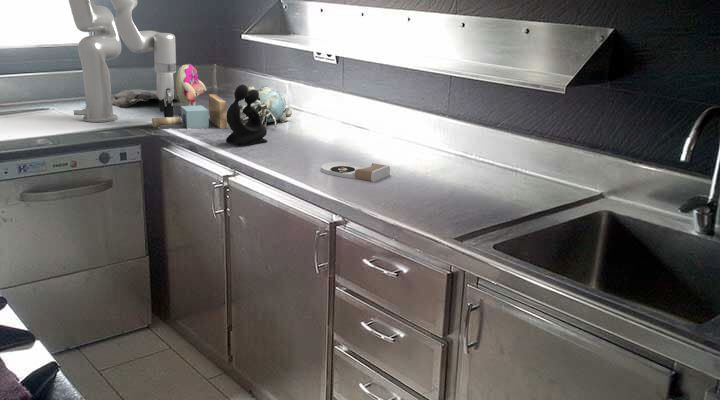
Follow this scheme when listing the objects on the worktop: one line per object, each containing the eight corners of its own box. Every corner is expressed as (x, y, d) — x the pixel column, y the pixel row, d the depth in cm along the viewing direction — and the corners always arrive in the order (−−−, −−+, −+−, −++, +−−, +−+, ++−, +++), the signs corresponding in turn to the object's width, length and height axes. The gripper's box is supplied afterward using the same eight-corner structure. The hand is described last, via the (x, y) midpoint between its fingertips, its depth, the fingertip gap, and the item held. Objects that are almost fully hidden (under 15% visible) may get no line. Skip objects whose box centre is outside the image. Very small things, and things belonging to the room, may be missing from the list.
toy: (195, 119, 274) (193, 67, 268) (173, 118, 274) (170, 67, 268) (209, 108, 298) (208, 60, 292) (189, 107, 298) (186, 60, 292)
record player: (371, 173, 194) (313, 162, 204) (371, 183, 195) (313, 173, 205) (392, 164, 204) (335, 155, 214) (391, 174, 205) (335, 165, 215)
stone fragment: (113, 101, 313) (112, 86, 311) (180, 99, 321) (179, 85, 319) (109, 109, 289) (108, 93, 288) (181, 107, 297) (180, 92, 295)
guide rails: (159, 129, 254) (159, 126, 254) (156, 125, 261) (156, 122, 260) (184, 127, 258) (184, 124, 258) (181, 124, 264) (180, 120, 264)
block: (187, 128, 257) (186, 111, 255) (181, 123, 266) (180, 106, 264) (208, 127, 260) (208, 110, 258) (202, 121, 269) (201, 105, 267)
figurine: (237, 147, 230) (236, 87, 224) (222, 143, 236) (221, 84, 230) (271, 142, 240) (271, 84, 234) (256, 137, 246) (255, 81, 240)
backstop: (220, 128, 258) (219, 101, 255) (209, 119, 274) (208, 94, 271) (226, 128, 259) (226, 101, 256) (215, 119, 275) (214, 94, 272)
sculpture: (294, 108, 283) (303, 112, 254) (262, 140, 283) (267, 147, 254) (259, 73, 278) (264, 73, 249) (227, 105, 278) (228, 109, 249)
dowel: (153, 130, 257) (153, 122, 255) (151, 124, 259) (152, 116, 257) (180, 128, 261) (181, 120, 259) (179, 122, 263) (179, 114, 261)
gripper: (151, 64, 259) (152, 109, 264) (158, 71, 244) (159, 119, 249) (171, 64, 262) (172, 109, 267) (180, 71, 247) (181, 118, 252)
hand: (166, 114), depth 258 cm, fingers open, 9 cm apart
